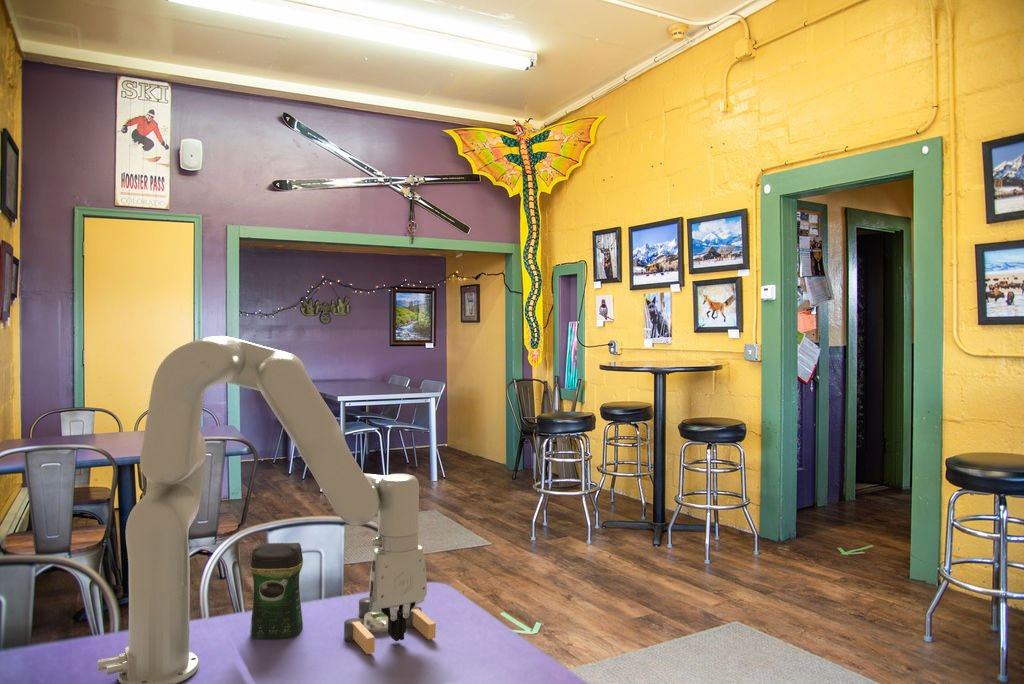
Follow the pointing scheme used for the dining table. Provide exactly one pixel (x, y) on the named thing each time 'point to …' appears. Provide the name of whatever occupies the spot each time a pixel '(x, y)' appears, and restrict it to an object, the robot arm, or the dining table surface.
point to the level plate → (376, 622)
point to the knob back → (364, 606)
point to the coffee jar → (276, 591)
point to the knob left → (359, 634)
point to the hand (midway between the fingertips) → (396, 637)
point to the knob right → (421, 622)
